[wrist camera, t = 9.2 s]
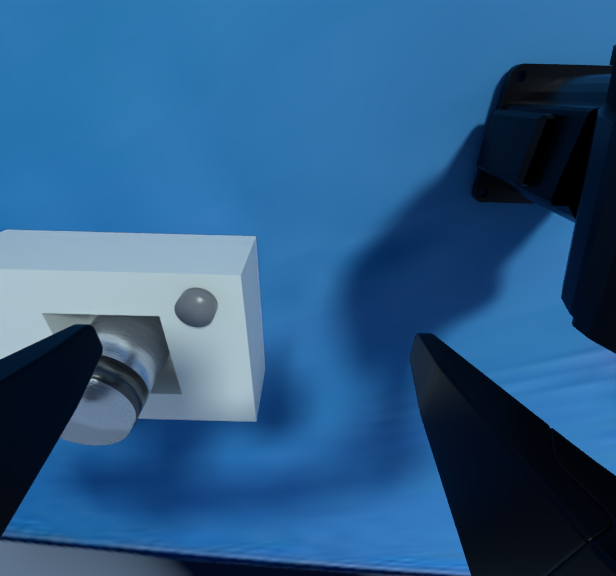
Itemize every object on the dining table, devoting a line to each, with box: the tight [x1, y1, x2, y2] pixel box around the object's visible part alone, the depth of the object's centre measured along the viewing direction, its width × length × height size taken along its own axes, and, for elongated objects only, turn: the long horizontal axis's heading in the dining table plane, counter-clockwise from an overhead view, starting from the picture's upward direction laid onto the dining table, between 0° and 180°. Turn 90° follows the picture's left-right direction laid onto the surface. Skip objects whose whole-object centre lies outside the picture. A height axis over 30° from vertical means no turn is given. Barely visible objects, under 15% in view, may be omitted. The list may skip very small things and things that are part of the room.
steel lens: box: [60, 315, 170, 445], centre depth 19 cm, size 5×5×7 cm
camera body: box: [0, 230, 265, 422], centre depth 21 cm, size 16×12×6 cm
